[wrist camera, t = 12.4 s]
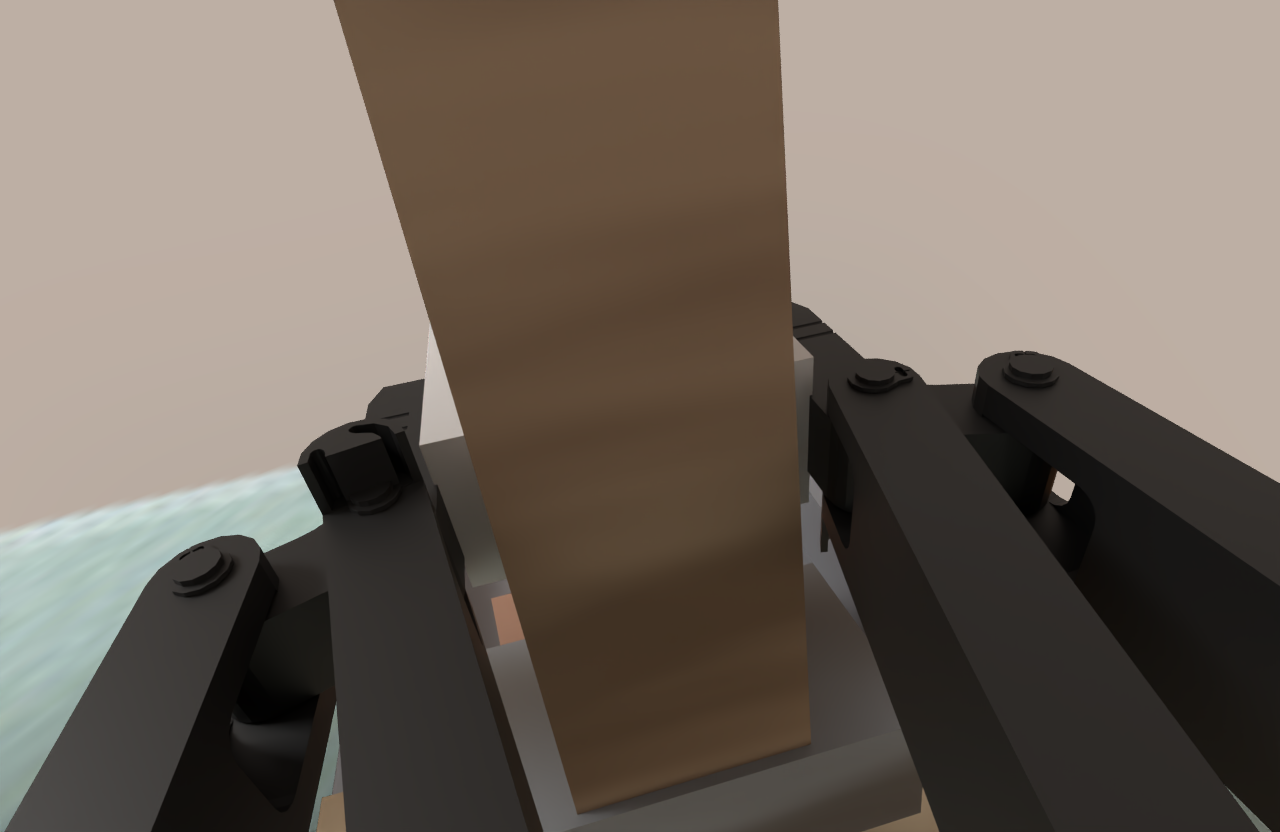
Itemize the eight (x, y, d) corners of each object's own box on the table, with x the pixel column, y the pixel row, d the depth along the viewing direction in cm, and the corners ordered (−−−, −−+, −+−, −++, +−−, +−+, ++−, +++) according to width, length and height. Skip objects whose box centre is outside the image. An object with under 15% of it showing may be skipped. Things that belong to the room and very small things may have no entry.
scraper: (920, 812, 12) (986, -132, 6) (490, 951, 11) (49, -12, 5) (815, 643, 16) (791, -39, 10) (489, 735, 15) (237, 41, 9)
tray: (926, 698, 20) (942, 622, 18) (380, 862, 18) (331, 796, 16) (746, 427, 32) (744, 364, 30) (411, 506, 30) (386, 444, 28)
